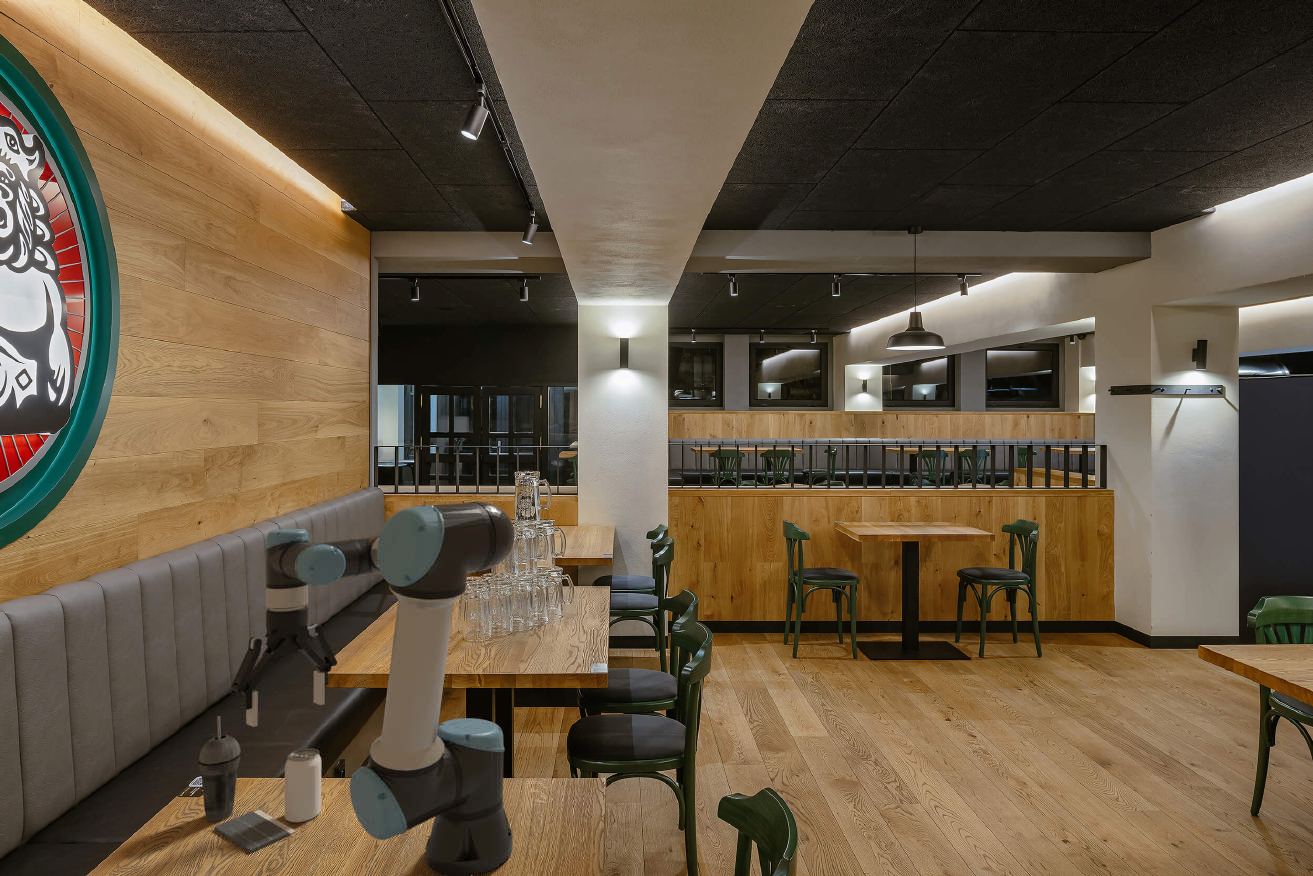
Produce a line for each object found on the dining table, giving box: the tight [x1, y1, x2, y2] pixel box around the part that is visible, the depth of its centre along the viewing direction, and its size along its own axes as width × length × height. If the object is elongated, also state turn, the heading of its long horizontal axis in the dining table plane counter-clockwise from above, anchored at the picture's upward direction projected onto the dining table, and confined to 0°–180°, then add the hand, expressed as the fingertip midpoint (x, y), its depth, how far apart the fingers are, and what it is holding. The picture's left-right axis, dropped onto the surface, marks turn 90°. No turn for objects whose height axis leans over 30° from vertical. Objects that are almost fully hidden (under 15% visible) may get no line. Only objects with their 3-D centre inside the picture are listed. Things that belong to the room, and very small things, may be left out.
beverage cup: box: [197, 715, 242, 823], centre depth 141 cm, size 7×7×20 cm
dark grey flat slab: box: [214, 809, 297, 854], centre depth 136 cm, size 14×8×1 cm, turn 56°
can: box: [284, 748, 322, 824], centre depth 142 cm, size 6×6×12 cm
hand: (286, 713), depth 143 cm, fingers open, 13 cm apart
